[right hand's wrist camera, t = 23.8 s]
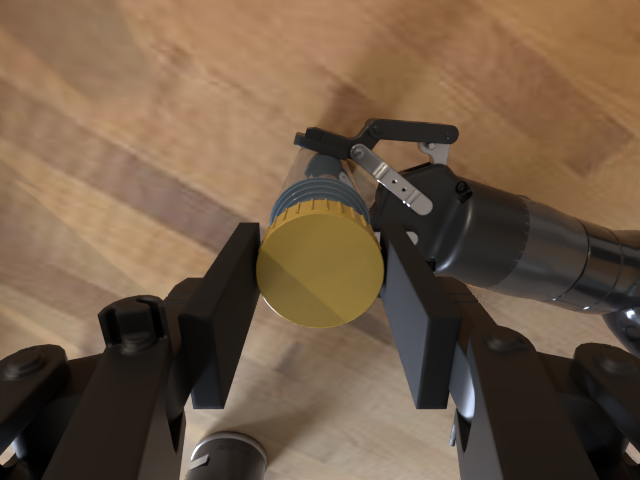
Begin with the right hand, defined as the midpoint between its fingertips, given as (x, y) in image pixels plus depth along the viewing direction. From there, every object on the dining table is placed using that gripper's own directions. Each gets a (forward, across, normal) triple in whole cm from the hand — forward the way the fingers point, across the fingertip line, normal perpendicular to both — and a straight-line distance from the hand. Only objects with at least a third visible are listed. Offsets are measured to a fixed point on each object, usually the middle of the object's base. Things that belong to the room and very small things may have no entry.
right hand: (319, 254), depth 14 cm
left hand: (+12, -2, +1) cm, 12 cm away
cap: (-1, 0, 0) cm, 1 cm away
